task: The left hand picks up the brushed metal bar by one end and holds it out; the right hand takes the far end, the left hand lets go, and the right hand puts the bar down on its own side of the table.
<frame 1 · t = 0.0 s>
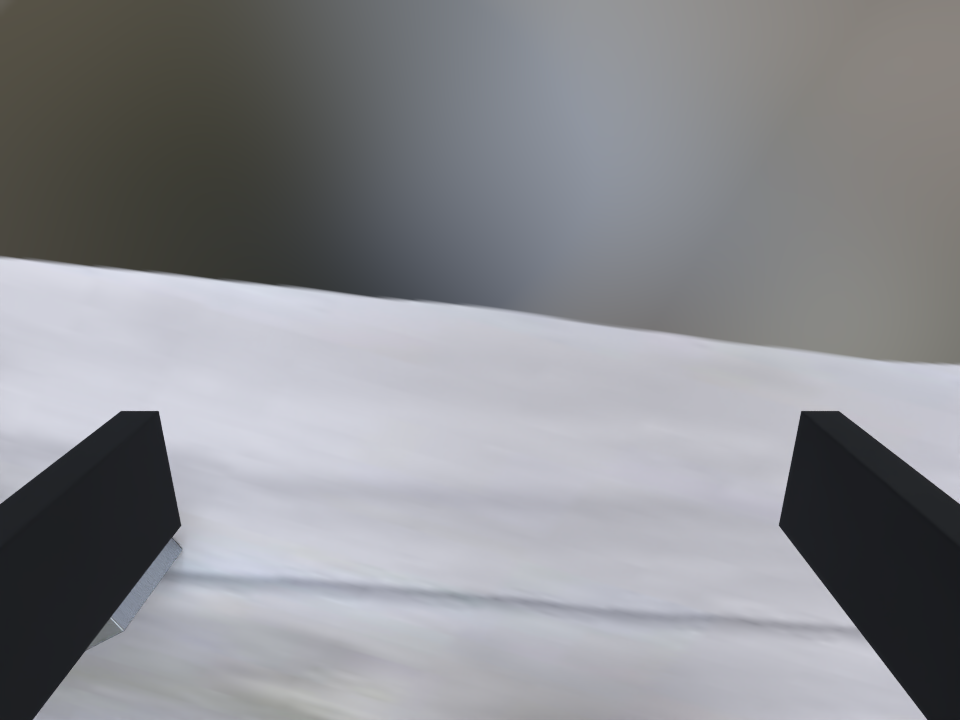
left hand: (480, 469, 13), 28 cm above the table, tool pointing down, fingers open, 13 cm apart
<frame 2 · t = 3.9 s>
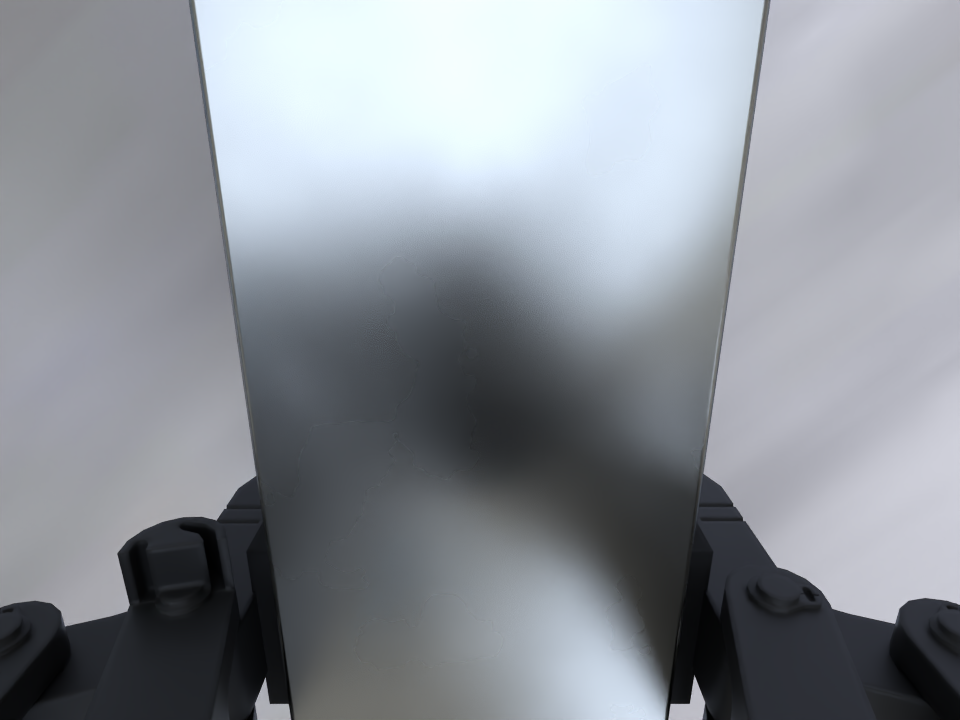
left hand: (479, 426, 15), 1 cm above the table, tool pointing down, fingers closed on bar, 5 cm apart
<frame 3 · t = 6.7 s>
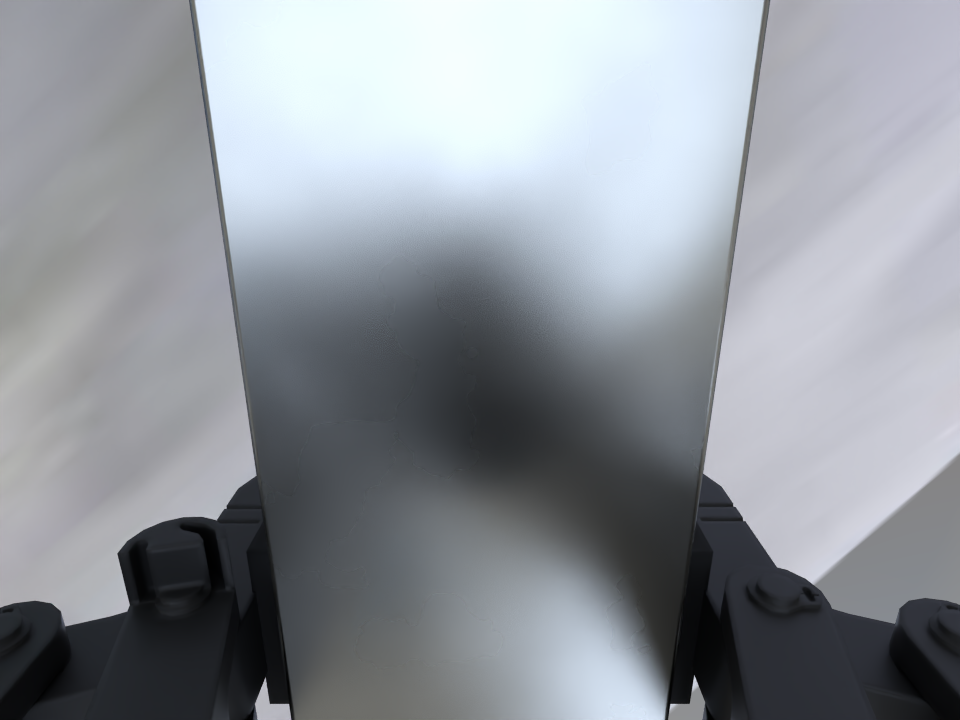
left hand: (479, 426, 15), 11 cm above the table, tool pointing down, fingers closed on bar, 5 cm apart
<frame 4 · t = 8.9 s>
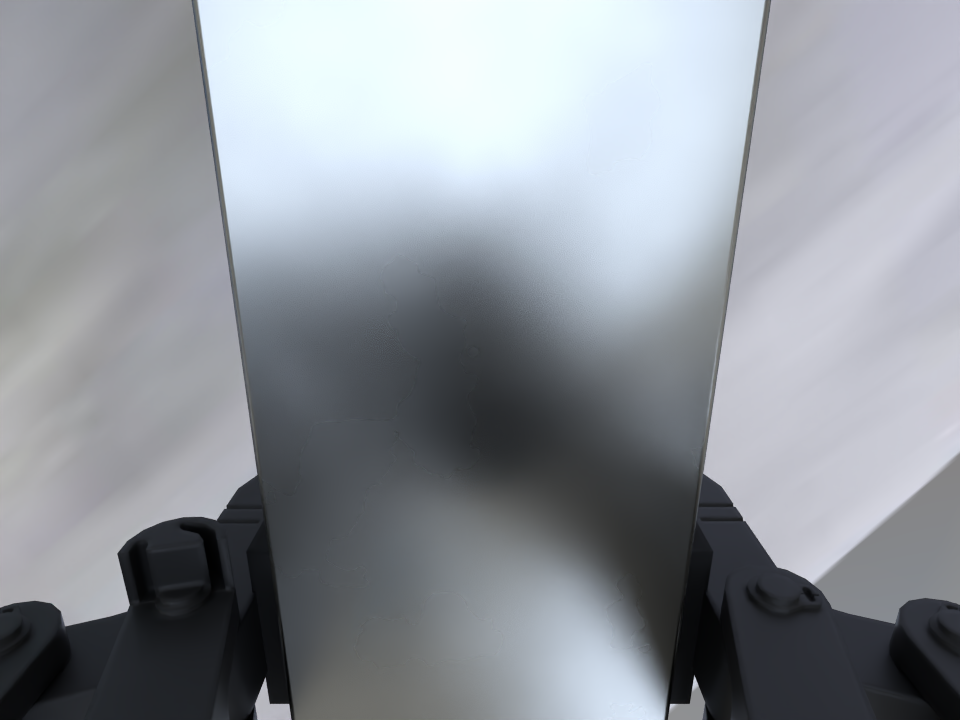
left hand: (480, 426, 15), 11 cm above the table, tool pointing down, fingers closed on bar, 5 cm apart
when the left hand's fingers open (11 cm above the table, at t = 9.5 s): bar stays where it is, held by the right hand.
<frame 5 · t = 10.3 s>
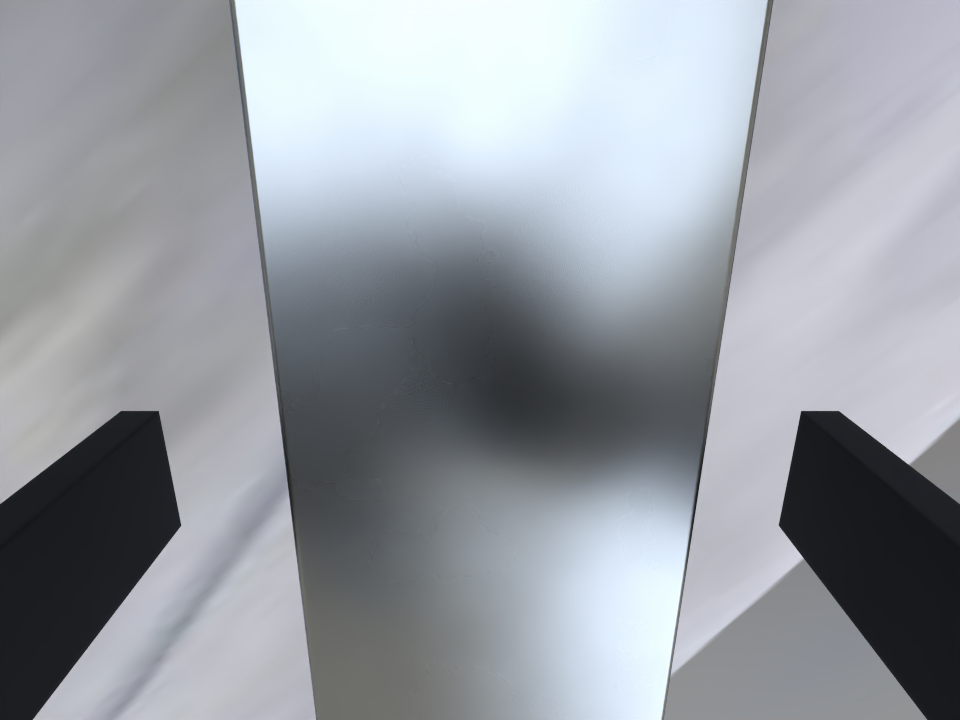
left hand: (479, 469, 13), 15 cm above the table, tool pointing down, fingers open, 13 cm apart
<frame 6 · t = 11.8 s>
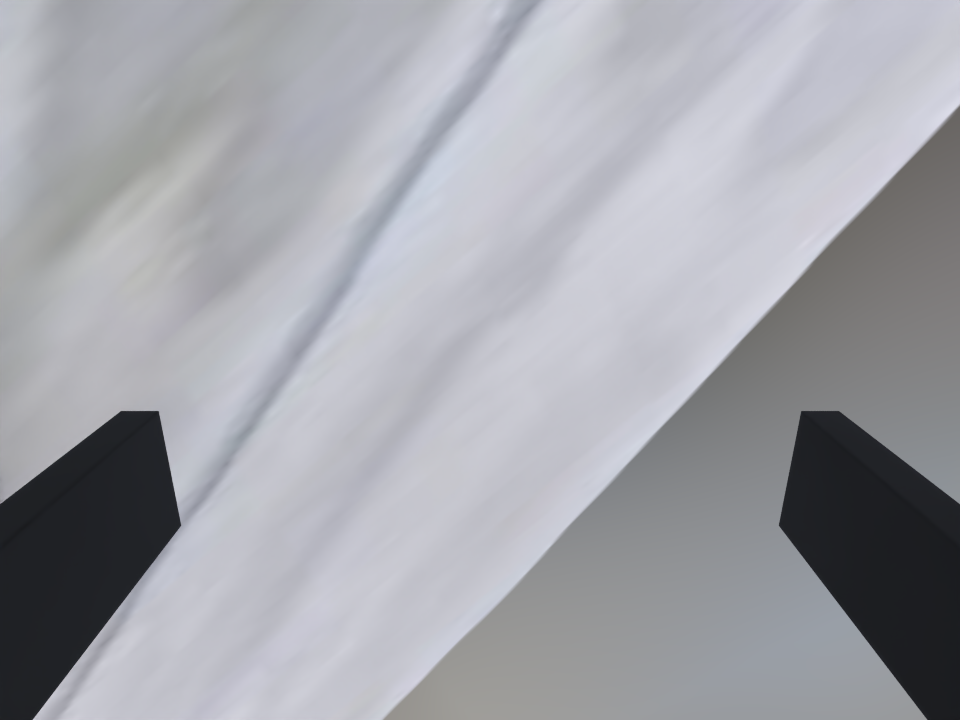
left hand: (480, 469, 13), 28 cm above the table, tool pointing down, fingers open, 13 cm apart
when the right hand's fingers open (2 cm above the table, at t = 15.0 s): bar drops 1 cm, on the table.
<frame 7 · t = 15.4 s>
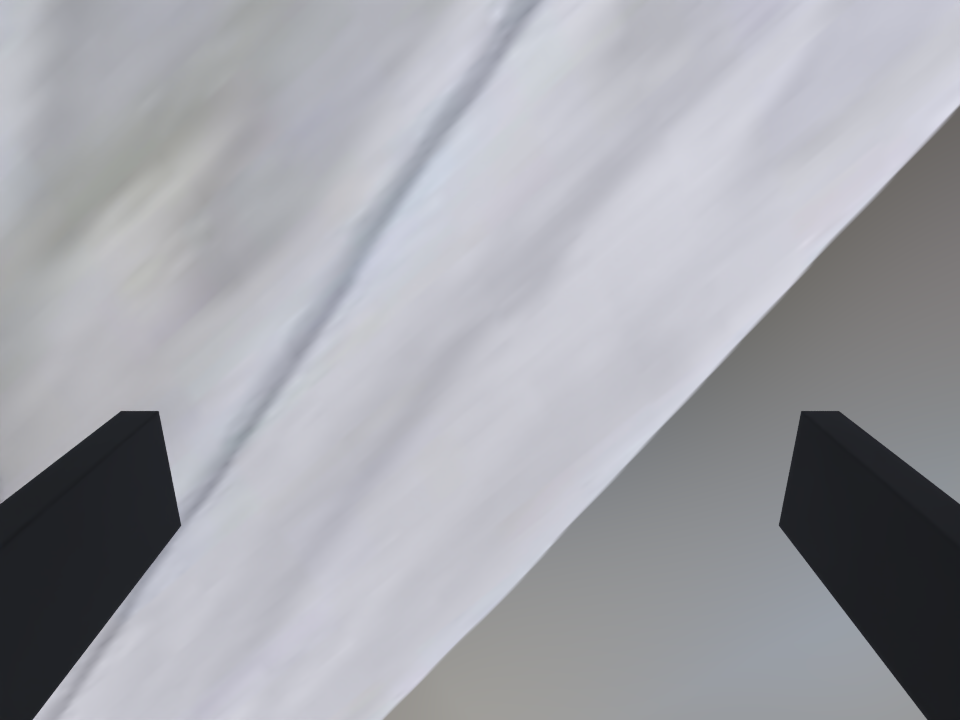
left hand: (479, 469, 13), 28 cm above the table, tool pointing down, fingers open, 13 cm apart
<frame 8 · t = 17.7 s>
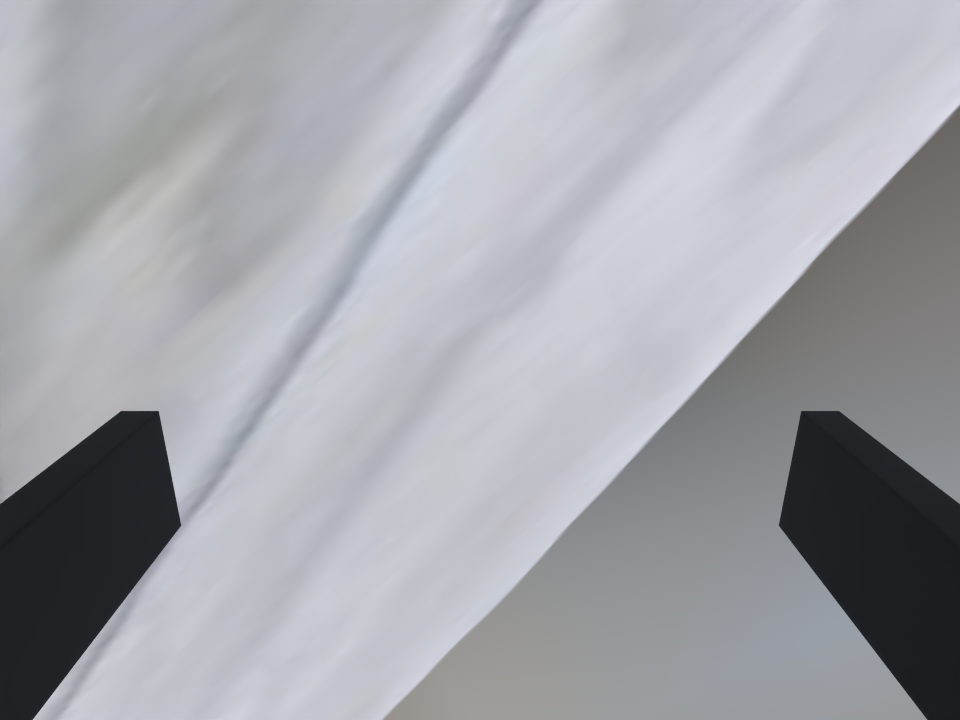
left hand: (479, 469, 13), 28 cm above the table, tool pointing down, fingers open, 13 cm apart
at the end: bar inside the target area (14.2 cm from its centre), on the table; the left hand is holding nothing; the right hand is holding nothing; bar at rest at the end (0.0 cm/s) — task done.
